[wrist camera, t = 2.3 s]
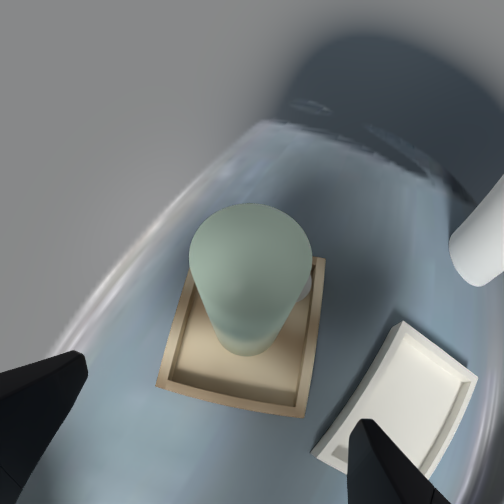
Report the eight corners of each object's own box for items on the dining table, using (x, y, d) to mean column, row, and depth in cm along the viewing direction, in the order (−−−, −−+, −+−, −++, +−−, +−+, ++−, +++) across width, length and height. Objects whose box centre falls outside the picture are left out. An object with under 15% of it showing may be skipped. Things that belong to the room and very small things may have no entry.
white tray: (400, 497, 13) (411, 503, 12) (309, 452, 16) (316, 457, 14) (464, 380, 18) (478, 377, 16) (391, 327, 21) (403, 320, 19)
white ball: (314, 292, 22) (324, 277, 19) (285, 316, 21) (292, 303, 18) (289, 265, 23) (295, 246, 20) (260, 286, 22) (262, 269, 19)
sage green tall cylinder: (291, 330, 20) (336, 263, 10) (240, 369, 19) (238, 339, 9) (252, 284, 22) (260, 186, 12) (202, 318, 20) (167, 241, 11)
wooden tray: (298, 416, 18) (303, 418, 16) (163, 387, 18) (155, 386, 17) (319, 269, 23) (325, 258, 22) (203, 247, 24) (200, 235, 22)
